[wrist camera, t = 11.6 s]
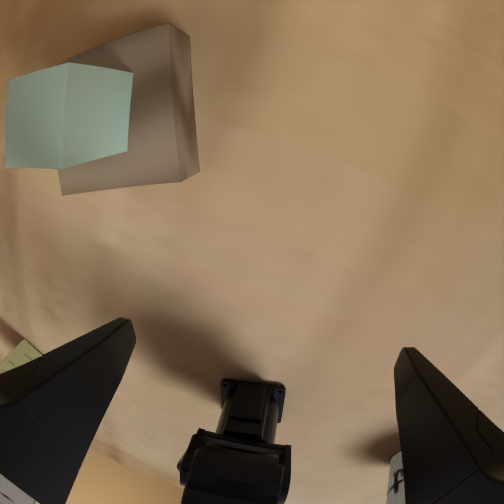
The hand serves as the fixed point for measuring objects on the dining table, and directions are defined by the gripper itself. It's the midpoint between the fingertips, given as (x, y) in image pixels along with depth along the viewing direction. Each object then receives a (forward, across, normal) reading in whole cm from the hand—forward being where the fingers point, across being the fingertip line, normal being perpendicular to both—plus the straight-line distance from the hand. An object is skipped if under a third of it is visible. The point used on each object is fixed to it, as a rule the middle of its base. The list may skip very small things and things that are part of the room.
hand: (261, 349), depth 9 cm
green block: (+9, +12, -8) cm, 17 cm away
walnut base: (+14, +12, -8) cm, 19 cm away
